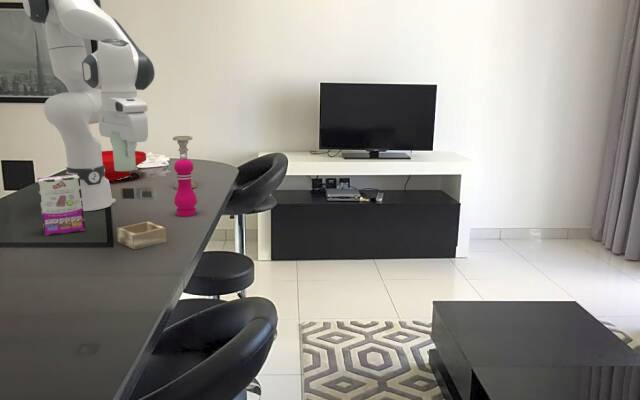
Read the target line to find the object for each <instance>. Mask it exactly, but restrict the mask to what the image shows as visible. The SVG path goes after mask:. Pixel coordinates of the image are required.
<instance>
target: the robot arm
mask: <svg viewBox="0 0 640 400" xmlns="http://www.w3.org/2000/svg"><path fill="white" fill-rule="evenodd" d="M22 6H23V9H24V12H25V14H26V15H27V17H28V19H30V20H31V21H32V22H34V23H38V24H45V37H46V38H45V39H46V45H47V50H48V55H49V58H50V64H51V67H52V73H53V74H54V77H56V78H57V79H58V80H60V81H61V82H62V83H63V84H64V85H65V87H66V89H67V92H61V93H57V94H55V95H52V96H50V97H48V98H47V99H46V101H45V102H44V106H43V112H44V116H45V119H46V120H47V121H48V122H49V123H50V124H51V126H52V125H53V126H54V128H55V129H57V131H58V132H59V134H60V136H61V138H62V141H63V143H64V147H65V155H66V163H67V166H66V167H65V169H66V170H65V176H67V175H78V176H79V178H80V186H81V194H82V203H83V212H90V211H97V210H101V209H106V208H108V207H111V206H112V205H113V204H114V203H116V198H113V197H112V191H111V184H110V182H109V180H108V179H107V178H105V176H104V175H105V168H104V165H103V161H102V144H101V142H100V140H99V139H98V138H96V137H94V135H93V134H92V131H91V128H90V125H92V124H98V130H99V131H98V132H99V134H100V137H105V138H109V139H110V140H109V141H110V144H111V145H112V137H111V132H114V133H120V139H121V140H125V141H127V145H128V149H127V151H126V157H128V158H134V157H135V151H136V149H137V146H138V143H145V142H146V141H148V138H149V128H148V127H149V126H148V125H149V124H148V116H147V113H146V112H147V111H148V104H147V103H146V102H145V101H144V100H142V99H141V98H140V97H139V96H138V91H144V90H146V89H147V88H149V86H150V85H151V84H152V82H153V81H154V79H155V74H156V73H155V67H154V64H153V62H152V60H151V59H150V57H149V56H147V55H146V54H145V52H143V51H142V50H140V48H139V47H138V46H137V45H136V43H135V42H134V40H133V39H132V38H131V36H130V35H129V34H128V33H127V31H126V30H125V29H124V27H123V26H122V24H120V22H118V20H117V19H115V18H114V17H112V16H110V15H109V14H108V13H106V12H105V11H104V10H103V9H102V1H101V0H22ZM84 39H86V40H93V41H97V42H98V43H97V49H96V51H94V52H93V53H89V54H88V55H87V50H86V46H85V42H84V41H85V40H84ZM137 90H138V91H137Z"/></svg>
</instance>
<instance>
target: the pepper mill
mask: <svg viewBox="0 0 640 400" xmlns="http://www.w3.org/2000/svg"><path fill="white" fill-rule="evenodd" d="M193 170H194V163H193V162H192V161H191V160H190V159H186V155H185V154H182V155H181V159H180V158H179V159H178V160H176V161H175V163H174V171H175V172H176V179H177V182H178V189H176V193H175V195H174V205H175V206H176V207H177V208H176V215H177V216H179V217H192V216H195V215H196V214H197V208H196V205H197V204H198V200H197V195H196V194H195V191H194V189H192V186H191V181H192V179H193V173H192V172H193Z"/></svg>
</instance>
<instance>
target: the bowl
mask: <svg viewBox="0 0 640 400" xmlns="http://www.w3.org/2000/svg"><path fill="white" fill-rule="evenodd" d="M102 161H103V165H104V168H105V175H104V176H105V178H107V179H108V180H109V181H111V182H114V181H113V180H117V179H120V178H124V177H126V176H129V175H131V171H115V170H114V159H113V150H103V151H102ZM135 161H136V167H137V166H138V165H140V164H142V163H144V162H146V161H147V154H146V152H144V151H140V150H135Z"/></svg>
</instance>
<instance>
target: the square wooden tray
mask: <svg viewBox="0 0 640 400" xmlns="http://www.w3.org/2000/svg"><path fill="white" fill-rule="evenodd" d="M116 235H117V236H116V237H117V242H118V243H120V244H122V245H124V246H127V247H128V248H130V249H133V250H139V249H144V248H147V247H152V246H155V245H159V244H162V243H166V242H167V229H166V227H164V226H161V225H159V224H157V223H156V224H155V223H153V222H151V221H148V220H147V221H143V222H139V223H134V224H130V225H124V226H119V227H116Z"/></svg>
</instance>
